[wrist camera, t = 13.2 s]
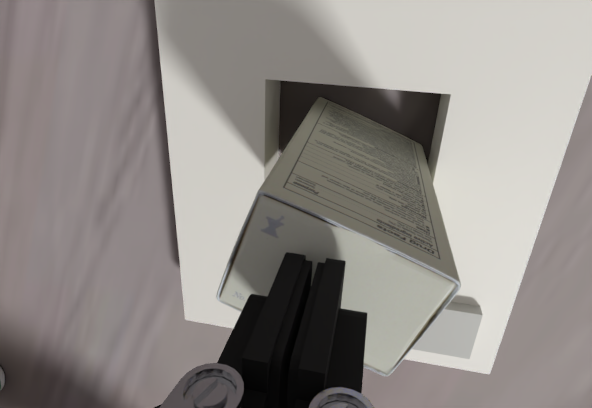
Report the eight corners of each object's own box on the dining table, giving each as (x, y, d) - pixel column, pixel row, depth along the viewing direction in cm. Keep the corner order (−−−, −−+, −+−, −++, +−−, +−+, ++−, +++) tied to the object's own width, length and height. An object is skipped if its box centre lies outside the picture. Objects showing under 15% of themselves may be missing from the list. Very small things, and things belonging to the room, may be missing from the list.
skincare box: (288, 163, 24) (203, 300, 13) (320, 90, 22) (250, 183, 11) (389, 211, 24) (386, 386, 13) (431, 143, 22) (467, 286, 11)
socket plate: (480, 336, 26) (492, 384, 23) (203, 290, 29) (180, 327, 26) (612, -94, 17) (666, -115, 13) (177, -99, 19) (133, -118, 16)
